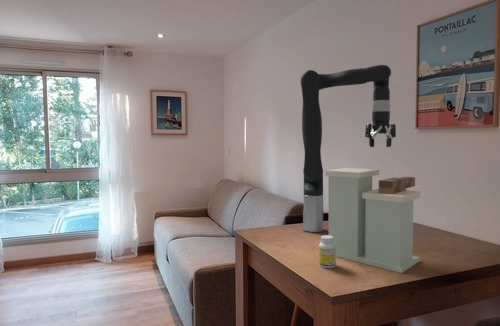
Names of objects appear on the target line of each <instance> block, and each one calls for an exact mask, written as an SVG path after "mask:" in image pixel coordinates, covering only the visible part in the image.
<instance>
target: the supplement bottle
mask: <svg viewBox="0 0 500 326" xmlns="http://www.w3.org/2000/svg"><path fill="white" fill-rule="evenodd" d="M318 252H319V253H318V258H319V259H318V261H319V262H318V264H319V267H321V268H325V269H333V268H335V267H336V266H337V264H336V263H337V259H336V258H337V257H336V245H335V244H334V243H333V236H330V235H329V234H327V235H326V234H325V235H321V236H320V242H319V245H318Z"/></svg>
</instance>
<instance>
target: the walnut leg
mask: <svg viewBox="0 0 500 326" xmlns="http://www.w3.org/2000/svg"><path fill="white" fill-rule="evenodd" d="M413 187H416V177H415V176H401V177H390V178H389V177H388V178H385V179H380V180H378V189H379V193H382V194H395V193H398V192H402V191H406V190H407V189H410V188H413Z"/></svg>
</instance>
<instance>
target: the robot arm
mask: <svg viewBox="0 0 500 326" xmlns="http://www.w3.org/2000/svg"><path fill="white" fill-rule="evenodd" d="M391 75H392V70H391V68H390V66H388V65H385V64H377V65H373V66H368V67H364V68H363V67H361V68H360V67H359V68H351V69H347V70H346V69H345V70H342V71H339V72H338V71H337V72H334V73H327V74H325V73H318V72H317V71H316V70H315V71H314V70H312V69H309V70H306V71H304V73H302V75H301V77H300V85H301V86H300V88H301V96H302V112H301V113H302V114H301V130H302V132H301V133H302V141H303V147H304V148H303V149H304V160H303V161H304V162H303V173H302V174H303V210H302V218H303V219H302V220H303V221H302V229H303V230H304V231H303V230H302V231H303V232H308V231H309V233H320V232H323V231H324V168H323V164H322V163H323V162H322V157H321V156H322V154H321V152H322V151H321V149H322V148H321V147H322V138H323V121H322V120H323V119H322V112H321V107H320V106H321V105H320V99H319V98H320V97H319V96H320V90H324V89H328V88H329V89H330V88H333V87H342V86H343V87H344V86H347V87H348V86H355V85H357V86H358V85H364V84H367V83H372V82H373V84H372V85H373V92H372V93H373V94H372V95H373V96H372V100H373V101H372V109H371V110H372V111H371V113H372V115H371V120H372V123H366V124H365V136H364V137H365V138H367V139H368V145H369V148H374V147H375V137H376V136H377V135H379V134H383V135H384V136H385V138H386V143H385V144H386V146H385V147H386V148H391V146H392V139H394V138H396V137H397V133H396V132H397V131H396V123H391V124H390V121H391V103H390V100H391V93H390V92H391V91H390V86H389V85H390V77H391Z"/></svg>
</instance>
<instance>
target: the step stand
mask: <svg viewBox="0 0 500 326" xmlns="http://www.w3.org/2000/svg"><path fill="white" fill-rule="evenodd" d="M324 172H325V173H324V174H325V176H326V177H328V235H330V236H333V243H334V244H335V245H336V258H340V259H345V260H348V261H353V262H355V263H360V264H364V265H368V266H373V267H377V268H379V269H380V268H381V269H385V270H388V271H391V272H396V273H401V274H403V273H404V272H406V271H407V270H408V269H410V268H412V267H413V266H414V265H416V264H417V263H419V262H420V256H416V255H414V253H413V249H414V200H416V199H419V198H421V191H418V190H417V191H416V190H408V189H406V191H402V192H398V193H395V194H382V193H379V188H377V189H373V177H374V176H379V175H380V169H376V168H375V169H374V168H358V167H356V168H355V167H343V168H342V167H341V168H335V169H326V170H325V171H324Z"/></svg>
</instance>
